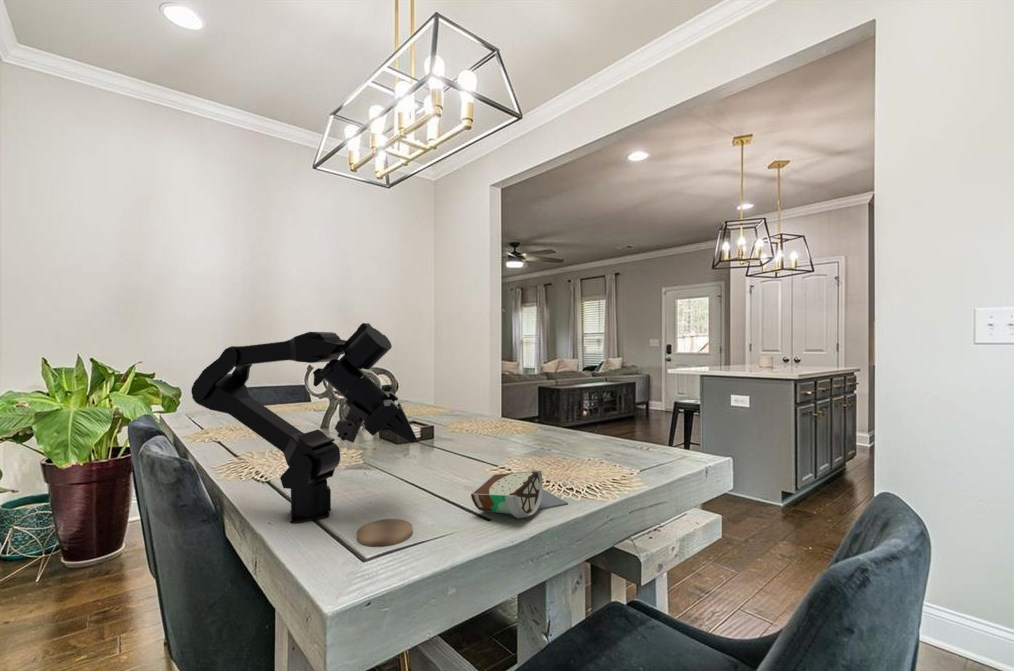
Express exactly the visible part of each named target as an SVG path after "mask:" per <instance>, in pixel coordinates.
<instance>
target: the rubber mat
mask: <svg viewBox="0 0 1014 671" xmlns="http://www.w3.org/2000/svg"><path fill="white" fill-rule="evenodd" d="M565 505H569V502H567V501H566V500H564V499H562V498H560V497H558V496H557V495H555V494H553V493H551V492H549V491H547V490H546V489H544V488H543V489H542V498H541V502H540V505H539V507H538V509H537V511H542V510H545V509H551V508H557V507H561V506H565ZM504 514H505V515H506V516H508V517H510V516H514V515H513V514H508V513H504Z"/></svg>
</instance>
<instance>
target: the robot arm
mask: <svg viewBox="0 0 1014 671" xmlns="http://www.w3.org/2000/svg"><path fill="white" fill-rule="evenodd" d="M392 347H393V346H392V343H391V341H390V340H389V338H388V337H387V336H386V335H385V334H383V333H382V332H381V331H379V330H378V329H376V328H374V327H373V326H372V325H371V323H367V322H366V323H365V322H363V323H361V324H360V325H359V326H358V328H357V330H356V331H355V332H354V333H353V334H352V335H351V336H350V337H349V338H348V339H346V340H345V339H342V338H340V336H339V335H338V333H336V332H332V331H331V332H330V331H329V332H328V331H307V332H304V333H302V334H299V335H295V336H294V337H292V338H290V339H287V340H284V341H278V342H277V341H276V342H268V343H260V344H251V345H243V346H242V345H240V346H239V345H235V346H234V345H233V346H232V345H231V346H228V347H226V348H225V349H224V350H223V351H222V352H221V354H220V355H219V357H218V358H217V359H215V360H214V361H213V362H212V363H210V364H209V365H208V366H206V368H204V369H203V370H202V371H201V373H200V374H199V375H198V376H197V378H196V379H195V380H194V382H193V384H192V387H191V396H192V397H191V399H192V400H193V401H194V402H195V404H197V405H199V406H201V407H202V408H203V407H204V408H205V409H208V410H211V411H214V412H219V413H224V414H228V415H230V416H231V417H233V418H234V419H235V420H236V421H238V422H240V423H241V424H242V425H244V426H245V427H247V428H248V429H249V430H251V431H252V432H254V433H255V434H256V435H258V436H259V437H261V438H262V439H264V440H265V441H267V442H268V443H269V444H270V445H272V446H274V447H275V448H277V450H279V451H280V452H282V453H283V456H284V459H285V462H286V464H287V466H288V468H287V469H286V470H285V471H284V472H283V473H282V475H280V477H279V478H280V479H279V480H280V482H281V486H282V488H283V489H290V510H289V516H290V519H289V520H290V524H295V523H302V522H307V521H314V520H318V519H326V518H329V516H330V511H331V510H332V504H331V503H332V499H331V498H332V497H331V496H332V495H331V494H332V492H331V487H330V485H328V479H329V478H333V476H334V473H335V471H336V468H338V466H339V464H340V461H341V452H340V447H339V446H338V445H337V444H336V443H335V441H336V439H335V438H332V437H329V436H328V435H326V434H325V432H323V431H322V430H320V429H315V430H311V431H307V432H303V431H301V430H299V429H298V428H297V427H295V426H294V425H293V424H291V423H290V422H288V421H286V420H285V419H283V418H282V417H281V416H279V415H278V414H276V413H275V412H273V411H272V410H271V409H269V408H268V407H266V406H265V405H263V404H262V403H260V402H259V401H258V400H257V399H255V398H253V397H252V396H250V393H249V390H248V387H247V385H246V383H247V382H248V380H249V379H250V373H251V372H250V371H251V367H252V366H253V365H256V364H264V363H265V364H267V363H276V362H285V361H293V362H297V363H309V364H315V363H316V364H317V363H326V365H325V366H323V367H322V368H321V367H319V368H317V369H315V370H314V371H313V372H312V373H313V386H314V387H318V386H319V385H320V384H322V383H323V382H324V381H325V382H327V384H329V385H330V386H331V387H332V388H333V389H334V390H335V391H336V392H338V393H339V394H340V395H341V396H342V397H343V398H344V399H346V400H345V402H346V403H345V404H346V406H347V407H348V408H349V410H348V413H347V415H346V417H345V419H338V421H337V423H336V425H335V427H334V430H335V431H336V432H337V435H336V436H337V438H339V439H341V441H347V442H350V443H352V444H353V443H355V441H356V438H357V436H358V434H359V430H360V427H361V425H362V423H363V422H364V429H365V431H367V433H369V434H370V435H371V436H375V435H376V434H377V433H378V432H382V431H384V432H385V431H389V432H392V433H394V434H395V435H397V436H399V437H401V438H403V439H405V440H407V441H409V442H410V443H412V444H414V443H415V442H416V441H417V436H416V434H415V431H414V430H413V428H412V426H411V424H410V421H409V419H408V417H407V415H406V413H405V411H404V408H403V406H402V404H401V402H398V403H397V404H396V401H398V400H399V397H398V396H397V395H396V394H395V393H394V392H393V391H385V390H384V389H383V388H381V387H380V386H379V385H378V384H377V383H376V382H375V381H374V379H373V377H371V376H369V375H367V374H366V373H365V372H364V371H363V369H365V370H371V369H372V368H373V367H374V366H375V365H376V364H377V363H378V362H379V361H380V360H381V359H383V357H384V356H385V355H386V354H387V353H388V352H389V351H390V350H391V349H392ZM232 371H233V372H232ZM230 372H231V373H230Z"/></svg>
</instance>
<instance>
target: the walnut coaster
mask: <svg viewBox="0 0 1014 671" xmlns="http://www.w3.org/2000/svg"><path fill="white" fill-rule="evenodd" d="M412 535H413V524H412V522H410V521H408V520H405V519H399V518H385V519H379V520H374V521H370V522H368V523H365V524H364V525H362V526H360V527H359V528H358V529H357V531H356V540H357V542H358V543H359V544H361V545H363V546H367V547H375V546H379V547H387V545H389V546H393V545H397V544H399V543H403V542H404V541H407V540H408V539H409V538H411V537H412Z"/></svg>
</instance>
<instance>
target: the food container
mask: <svg viewBox="0 0 1014 671" xmlns="http://www.w3.org/2000/svg"><path fill="white" fill-rule="evenodd" d="M543 484H544V483H543V474H542V470H539V469H533V470H531V471H519V472H506V473H504V472H503V473H494V474H492V475H491V476H490V477H489V478H488V479H487V480H486V481H485V482H483V483H481V485H479V487H477V488H476V489H475V490H474V491H472V492H471V493H470V497H471V500H472V502H473V504H474V506H475V508H476V509H477V510H479V511H481V512H489V513H500V514H505V513H508V514H513V515H512V516H514V517H515V518H516V519H524V518H528V517H531V516H533V515H534V514H536V513H537V511H538V510H537V509H538V507H539V505H540V502H541V498H542V489H544V488H543V486H544V485H543Z"/></svg>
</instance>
